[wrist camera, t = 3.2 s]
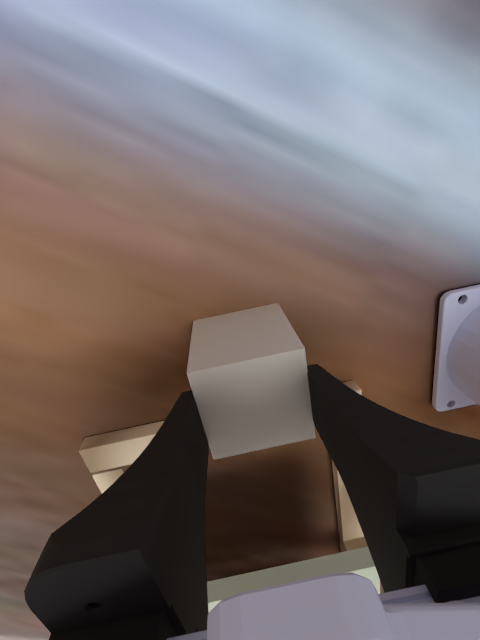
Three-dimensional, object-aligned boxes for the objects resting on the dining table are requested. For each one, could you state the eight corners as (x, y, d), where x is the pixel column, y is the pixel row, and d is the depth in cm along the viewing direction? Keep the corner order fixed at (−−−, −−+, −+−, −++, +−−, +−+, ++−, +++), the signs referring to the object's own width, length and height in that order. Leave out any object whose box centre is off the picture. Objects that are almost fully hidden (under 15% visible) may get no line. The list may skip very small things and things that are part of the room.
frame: (353, 379, 18) (435, 486, 12) (363, 571, 26) (414, 699, 20) (85, 437, 18) (13, 578, 12) (176, 612, 26) (165, 754, 20)
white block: (277, 302, 16) (304, 347, 11) (288, 374, 18) (315, 437, 13) (193, 320, 16) (186, 373, 11) (212, 390, 18) (213, 459, 13)
